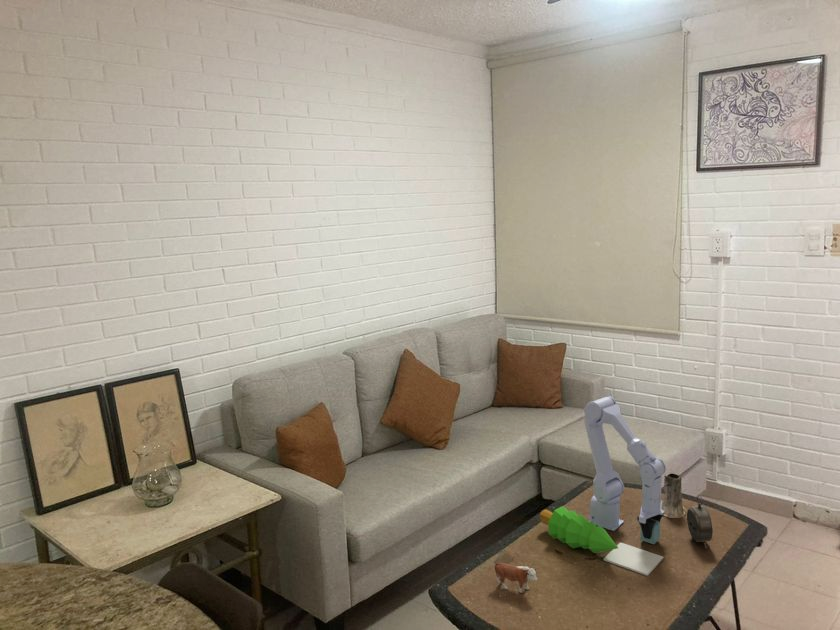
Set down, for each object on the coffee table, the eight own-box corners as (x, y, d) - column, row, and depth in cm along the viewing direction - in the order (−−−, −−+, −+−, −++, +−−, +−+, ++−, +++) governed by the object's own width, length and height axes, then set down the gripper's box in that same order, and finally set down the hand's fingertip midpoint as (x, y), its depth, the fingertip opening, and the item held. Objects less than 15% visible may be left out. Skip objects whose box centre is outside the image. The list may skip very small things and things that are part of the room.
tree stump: (658, 517, 232) (659, 481, 230) (655, 504, 242) (657, 469, 239) (688, 519, 230) (690, 483, 227) (685, 506, 239) (686, 471, 237)
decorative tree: (549, 493, 227) (624, 522, 203) (558, 517, 231) (633, 549, 208) (528, 515, 221) (602, 548, 198) (538, 540, 226) (612, 575, 202)
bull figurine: (535, 600, 189) (535, 574, 188) (492, 586, 196) (492, 561, 195) (541, 591, 193) (541, 566, 191) (499, 579, 200) (498, 554, 198)
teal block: (640, 539, 217) (641, 522, 215) (646, 534, 220) (646, 517, 219) (654, 544, 214) (654, 527, 212) (659, 538, 217) (660, 521, 216)
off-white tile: (603, 560, 207) (603, 558, 207) (620, 544, 216) (620, 542, 216) (647, 576, 198) (647, 574, 198) (663, 558, 207) (663, 556, 207)
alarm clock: (712, 551, 210) (715, 503, 207) (695, 551, 210) (697, 503, 207) (699, 533, 221) (701, 487, 218) (683, 533, 221) (685, 487, 218)
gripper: (654, 508, 206) (653, 548, 209) (672, 490, 217) (670, 529, 219) (632, 501, 210) (631, 540, 213) (651, 485, 221) (649, 522, 224)
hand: (650, 534), depth 216 cm, fingers closed on teal block, 4 cm apart
